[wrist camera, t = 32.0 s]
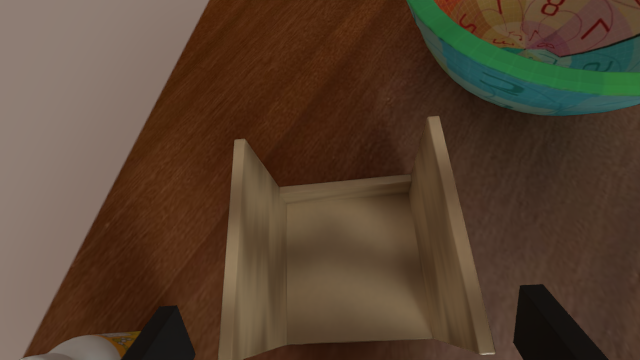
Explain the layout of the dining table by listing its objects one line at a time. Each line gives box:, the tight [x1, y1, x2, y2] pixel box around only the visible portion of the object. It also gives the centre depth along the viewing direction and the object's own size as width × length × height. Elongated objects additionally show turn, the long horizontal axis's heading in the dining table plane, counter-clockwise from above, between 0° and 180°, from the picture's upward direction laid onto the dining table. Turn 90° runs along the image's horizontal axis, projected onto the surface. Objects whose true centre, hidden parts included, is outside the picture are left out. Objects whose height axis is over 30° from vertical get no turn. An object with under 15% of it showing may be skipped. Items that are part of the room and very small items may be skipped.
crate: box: [218, 116, 496, 360], centre depth 19 cm, size 11×11×10 cm
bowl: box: [407, 0, 640, 116], centre depth 24 cm, size 22×22×10 cm
